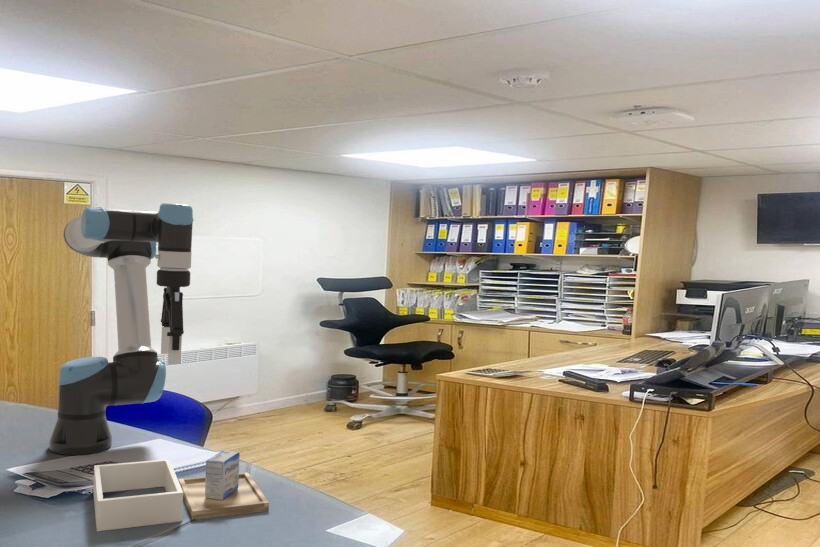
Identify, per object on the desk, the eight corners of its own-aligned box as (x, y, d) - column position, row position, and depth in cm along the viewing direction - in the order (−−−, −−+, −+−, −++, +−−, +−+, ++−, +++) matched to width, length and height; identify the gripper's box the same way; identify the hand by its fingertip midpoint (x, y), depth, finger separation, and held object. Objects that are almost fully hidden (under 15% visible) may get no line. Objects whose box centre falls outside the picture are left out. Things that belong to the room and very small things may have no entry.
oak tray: (178, 486, 163) (178, 478, 163) (247, 479, 170) (247, 472, 170) (192, 519, 145) (192, 511, 145) (268, 510, 152) (268, 502, 152)
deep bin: (93, 491, 157) (94, 465, 157) (168, 484, 164) (169, 459, 164) (96, 531, 138) (97, 501, 137) (182, 521, 145) (183, 492, 144)
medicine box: (222, 501, 154) (224, 462, 153) (203, 498, 155) (205, 459, 154) (238, 488, 161) (240, 451, 161) (220, 486, 162) (222, 449, 162)
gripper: (151, 265, 176) (148, 349, 177) (163, 272, 153) (159, 369, 154) (182, 266, 179) (179, 349, 180) (199, 273, 157) (195, 368, 158)
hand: (170, 358), depth 167 cm, fingers open, 13 cm apart
